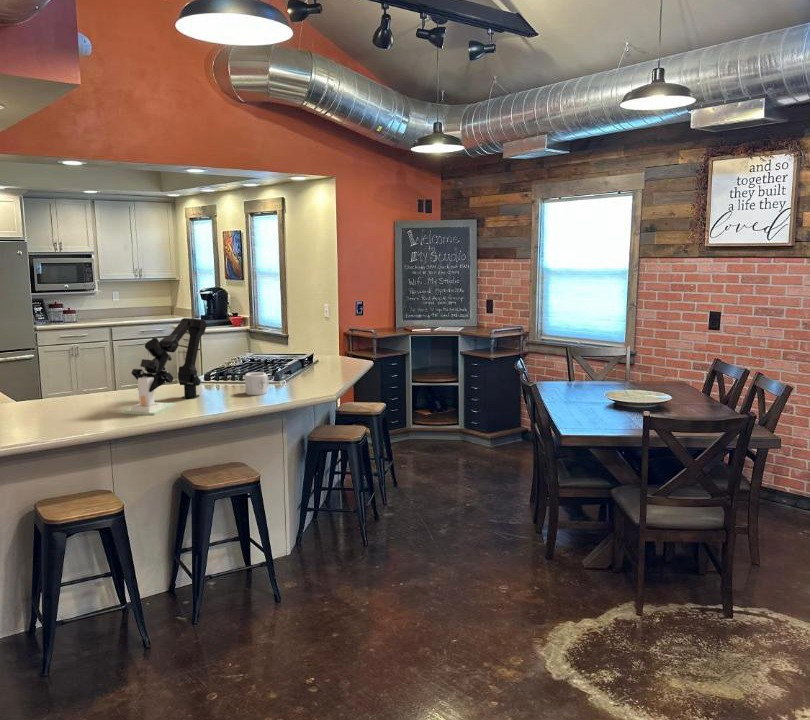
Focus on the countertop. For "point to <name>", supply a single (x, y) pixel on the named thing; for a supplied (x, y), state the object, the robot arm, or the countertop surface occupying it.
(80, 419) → the countertop surface
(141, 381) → the plug
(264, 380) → the mug
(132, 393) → the countertop surface
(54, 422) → the countertop surface
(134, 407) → the white square frame
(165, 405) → the board
